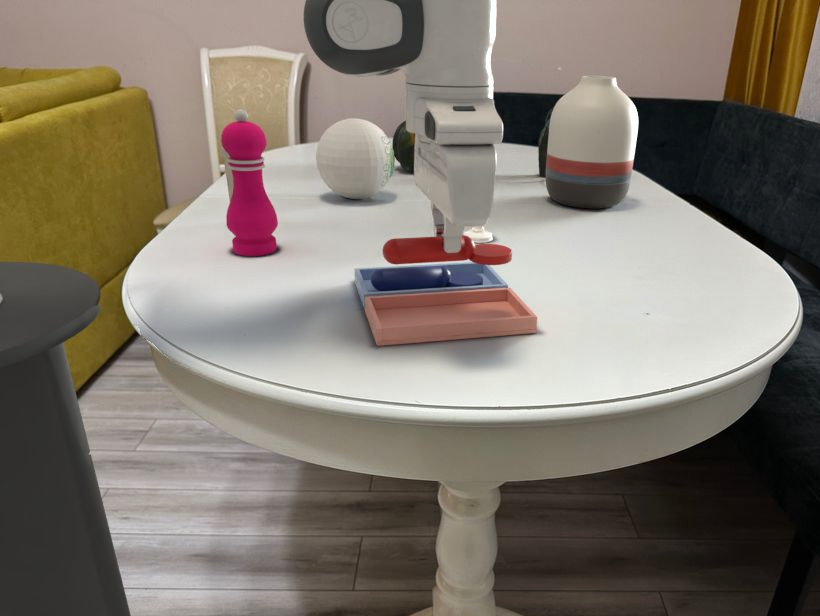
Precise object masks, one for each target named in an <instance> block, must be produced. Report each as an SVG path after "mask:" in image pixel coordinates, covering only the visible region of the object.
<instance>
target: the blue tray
mask: <svg viewBox="0 0 820 616" xmlns="http://www.w3.org/2000/svg"><path fill="white" fill-rule="evenodd" d="M426 266H444V267H446V268H447V269H448V270H449V271H450V273H456V272H469V273H474V274H477V275H480V276H481V277H482V278H483V285H480V286H463V287H446V286H445V287H439V288H423V289H407V290H391V291H379V290H377V289H375V288H374V287H373V286H372V284H371V276H372V274H373V273H374V272H375V271H376V270H378V269H388V268H407V267H426ZM353 273H354V285H355V287H356V290H357V293H358V296H359V299H360V301H361V304H362V307H363V310H364V311H365V297H370V296H385V295H401V294H417V293H433V292H448V291H464V290H480V289H496V288H509V284H507V282H506V281H505V280H504V279H503V278H502V277H501V275H499V273H497V271H496V270H494V268H493V267H492V265H482V264H477V263H474V262H472V261H468V262H452V263H433V264H432V263H430V264H412V265H411V264H410V265H395V266H375V267H373V266H372V267H359V268H354V272H353Z"/></svg>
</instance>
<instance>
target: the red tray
mask: <svg viewBox="0 0 820 616" xmlns="http://www.w3.org/2000/svg"><path fill="white" fill-rule="evenodd" d="M364 313H365V316H366V318H367V321H368V324H369V326H370V329H371V333H372V336H373V338H374V343H375V344H376V346H377V347H380V346H394V345H406V344H418V343H429V342H430V343H431V342H443V341H452V340H454V341H455V340H466V339H480V338H490V337H503V336H516V335H527V334H528V335H529V334H536V333H537V328H538V327H537V326H538V315H536V313H534V311H533V310H532V309H531V308H530V307H529V306H528V305H527V304H526V303H525V302H524V300H522V299H521V297H520V296H518V294H517V293H516V292H515V291H514V290H513V289H512V288H511V287H508V288H496V289H480V290H464V291H448V292H433V293H417V294H401V295H385V296H370V297H365V310H364Z"/></svg>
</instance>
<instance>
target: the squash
mask: <svg viewBox="0 0 820 616" xmlns="http://www.w3.org/2000/svg"><path fill="white" fill-rule="evenodd" d="M391 144H392V148H393V151H394V158H395V160H396V161H397V162H398V163H399V165H400V167H401V168H402V169H403V170H404V171H406V172H408V173H414V152H415V134H413V133H410V132H408V131H407V130H406V120H404V121H402V122H401V123H400V124H399V125H398V126H397V127H396V129H395V131H394V134H393V136H392V142H391Z"/></svg>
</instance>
